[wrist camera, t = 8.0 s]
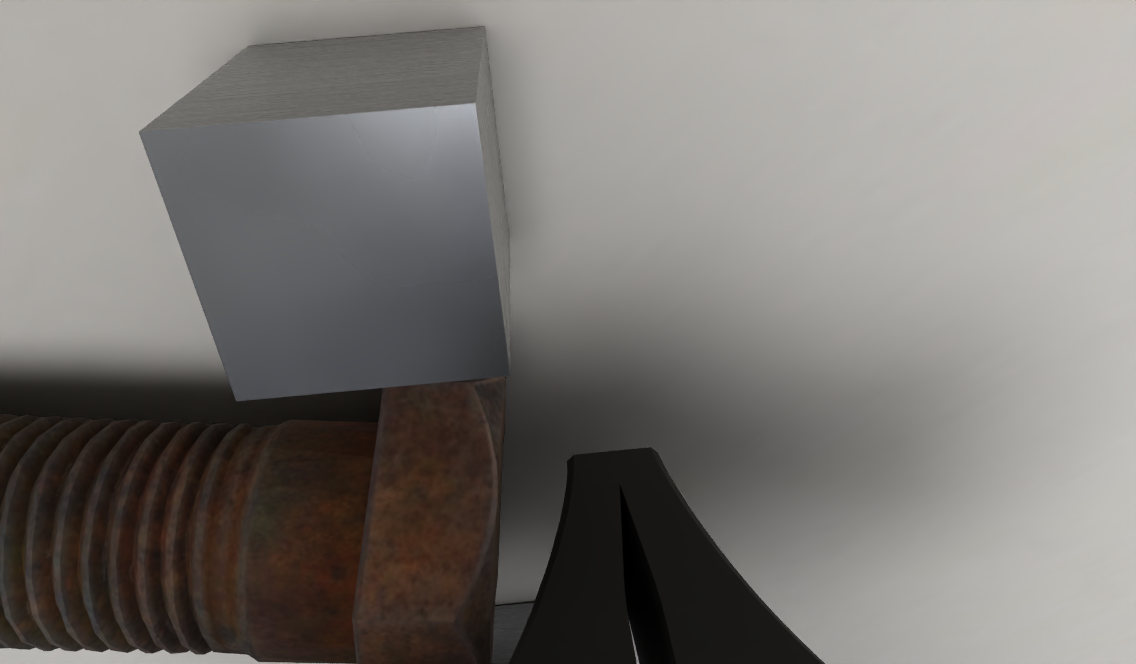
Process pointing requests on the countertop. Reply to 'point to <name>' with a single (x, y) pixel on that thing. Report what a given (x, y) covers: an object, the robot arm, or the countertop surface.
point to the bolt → (259, 533)
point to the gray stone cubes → (346, 218)
